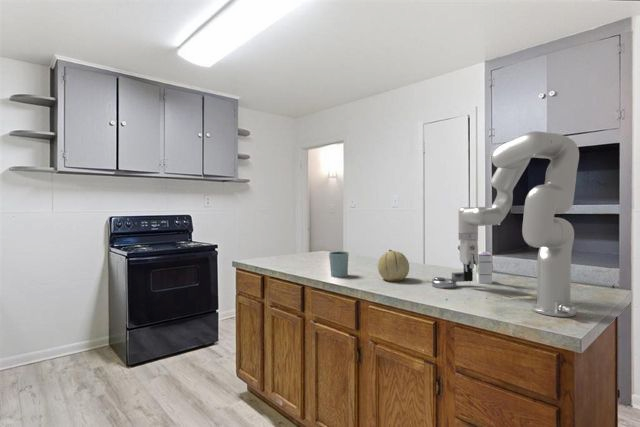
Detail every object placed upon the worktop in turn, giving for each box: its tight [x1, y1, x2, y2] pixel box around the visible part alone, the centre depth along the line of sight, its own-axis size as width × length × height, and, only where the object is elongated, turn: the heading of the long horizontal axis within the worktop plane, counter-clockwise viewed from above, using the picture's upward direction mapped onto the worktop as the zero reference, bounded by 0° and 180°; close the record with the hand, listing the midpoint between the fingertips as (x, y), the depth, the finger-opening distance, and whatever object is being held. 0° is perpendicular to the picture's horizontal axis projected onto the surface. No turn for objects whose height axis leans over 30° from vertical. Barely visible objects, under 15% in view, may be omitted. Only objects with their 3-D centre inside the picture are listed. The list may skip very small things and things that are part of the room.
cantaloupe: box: [377, 249, 410, 282], centre depth 177 cm, size 15×15×15 cm
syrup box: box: [475, 251, 493, 285], centre depth 169 cm, size 6×6×14 cm
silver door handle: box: [431, 269, 465, 290], centre depth 162 cm, size 17×10×8 cm, turn 96°
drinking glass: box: [328, 251, 349, 278], centre depth 193 cm, size 10×10×12 cm
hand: (468, 280), depth 157 cm, fingers closed
